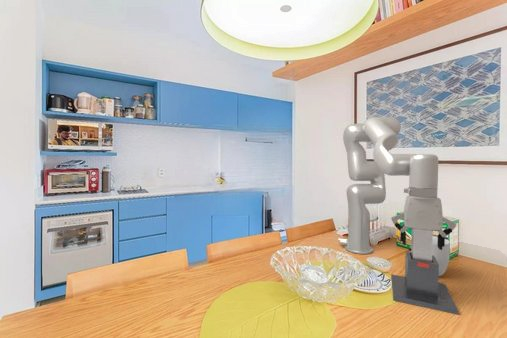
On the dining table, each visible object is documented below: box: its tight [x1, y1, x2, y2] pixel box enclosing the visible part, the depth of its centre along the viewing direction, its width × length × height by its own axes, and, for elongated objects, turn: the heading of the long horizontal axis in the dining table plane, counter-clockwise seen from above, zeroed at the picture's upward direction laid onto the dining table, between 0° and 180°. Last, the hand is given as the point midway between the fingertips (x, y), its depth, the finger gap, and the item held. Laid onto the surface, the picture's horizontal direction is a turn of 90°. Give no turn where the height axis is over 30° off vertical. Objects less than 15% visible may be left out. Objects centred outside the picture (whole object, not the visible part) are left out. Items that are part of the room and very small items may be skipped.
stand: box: [390, 251, 459, 315], centre depth 82 cm, size 16×16×12 cm
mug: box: [432, 235, 451, 278], centre depth 96 cm, size 15×11×13 cm
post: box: [410, 229, 434, 262], centre depth 81 cm, size 5×5×20 cm
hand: (421, 246), depth 81 cm, fingers open, 9 cm apart
